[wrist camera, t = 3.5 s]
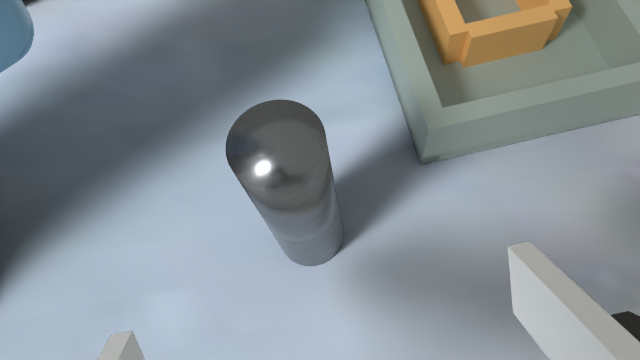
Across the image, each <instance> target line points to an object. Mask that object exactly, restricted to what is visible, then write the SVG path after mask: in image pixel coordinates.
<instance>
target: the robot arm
mask: <svg viewBox="0 0 640 360" xmlns="http://www.w3.org/2000/svg"><path fill="white" fill-rule="evenodd" d="M33 36H34V27H33V22H32V19H31V17H30V14H29V12H28V10H27V9H26V7H25V5H24V3H23V2H22V0H0V73H1V72H2V71H4V70H6V69H7V68H9V67H10V66H12V65H13V64H15V63H16V62H18V61H19V60H21V59H22V58H23V57H24V56H25V55H26V53H27V52H28V51H29V49H30V47H31V45H32V42H33ZM507 248H508V259H509V271H510V283H511V295H512V306H513V313H514V314H515V316H516V317H517V318H518V320H519V321H520V322H521V324H522V325H523V326H524V327H525V329H526V330H527V331H528V333H529V334H530V335H531V337H532V338H533V339H534V340H535V342H536V343H537V344H538V346H539V347H540V348H541V350H542V351H543V352H544V353H545V355H546V356H547V357H548V359H549V360H640V316H638V315H636V314H633V313H631V312H629V311H626V312H622V313H618V314H613V315H609V314H608V313H607V312H606V311H605V310H604V309H603V308H602V307H601V306H600V305H599V304H597V303H596V302H595V301H594V300H593V299H592V298H591V297H590V296H589V295H588V294H587V293H585V292H584V291H583V290H582V289H581V288H580V287H579V286H578V285H577V284H576V283H575V282H573V281H572V280H571V279H570V278H569V277H568V276H567V275H566V274H565V273H564V272H563V271H561V270H560V269H559V268H558V267H557V266H556V265H555V264H554V263H553V262H552V261H551V260H550V259H548V258H547V257H546V256H545V255H544V254H543V253H542V252H541V251H540V250H539V249H538V248H536V247H535V246H534V245H533V244H532V243H531V242H530V241H528V242H523V243H519V244H514V245H510V246H507ZM97 360H145V358H144V356H143V354H142V352H141V349H140V347H139V345H138V342H137V340H136V338H135V335H134V333H133V331H128V332H123V333H119V334H115V335H111V336H110V337H109V339H108V341H107V343H106V345H105V346H104V348H103V350H102V352H101V354H100V355H99V357H98V359H97Z"/></svg>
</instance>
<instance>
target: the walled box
mask: <svg viewBox="0 0 640 360" xmlns="http://www.w3.org/2000/svg"><path fill="white" fill-rule="evenodd" d="M365 1H366V4H367V7H368V10H369V13H370V16H371V19H372V22H373V25H374V28H375V31H376V34H377V37H378V40H379V43H380V46H381V48H382V51H383V54H384V57H385V60H386V63H387V66H388V69H389V72H390V75H391V78H392V81H393V84H394V87H395V90H396V93H397V96H398V99H399V101H400V104H401V107H402V110H403V113H404V116H405V119H406V122H407V125H408V128H409V131H410V134H411V137H412V140H413V143H414V146H415V149H416V151H417V154H418V157H419V160H420V163H421V165H422V164H427V163H431V162H435V161H440V160H444V159H448V158H453V157H457V156H461V155H466V154H470V153H474V152H479V151H483V150H487V149H492V148H496V147H500V146H505V145H509V144H513V143H518V142H522V141H526V140H531V139H535V138H539V137H544V136H548V135H552V134H556V133H561V132H565V131H569V130H574V129H578V128H582V127H587V126H591V125H595V124H600V123H604V122H608V121H613V120H617V119H621V118H626V117H630V116H634V115H639V114H640V1H639V0H365Z"/></svg>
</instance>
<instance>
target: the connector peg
mask: <svg viewBox="0 0 640 360" xmlns="http://www.w3.org/2000/svg"><path fill="white" fill-rule="evenodd" d="M226 156H227V160H228V163H229V165H230V167H231V169H232V170H233V172H234V174H235V175H236V177H237V178H238V180H239V181H240V183H241V185H242V186H243V188H244V189H245V191H246V192H247V194H248V196H249V197H250V199H251V200H252V202H253V203H254V205H255V207H256V208H257V210H258V211H259V213H260V214H261V216H262V218H263V219H264V221H265V222H266V224H267V225H268V227H269V229H270V230H271V232H272V233H273V235H274V236H275V238H276V240H277V241H278V243H279V244H280V246H281V247H282V249H283V251H284V252H285V254H286V255H287V256H288V257H289V258H290V259H291V260H292V261H294V262H296V263H298V264H300V265H304V266H316V265H320V264H323V263H325V262H327V261H329V260H330V259H331V258H333V257H334V256H335V255H336V253H337V252H338V250H339V249H340V246H341V244H342V240H343V229H342V223H341V218H340V212H339V207H338V201H337V196H336V190H335V185H334V179H333V174H332V168H331V163H330V157H329V152H328V146H327V140H326V135H325V130H324V127H323V124H322V122H321V120H320V119H319V118H318V116H317V115H316V114H315V113H314V112H313V111H312V110H311V109H309V108H308V107H306V106H304V105H302V104H300V103H298V102H294V101H289V100H272V101H267V102H263V103H260V104H258V105H255V106H254V107H252V108H250V109H248V110H247V111H246V112H244V113H243V114H242V115H241V116H240V117H239V118H238V119H237V120H236V121H235V123H234V124H233V126H232V127H231V129H230V131H229V134H228V137H227V141H226Z"/></svg>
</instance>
